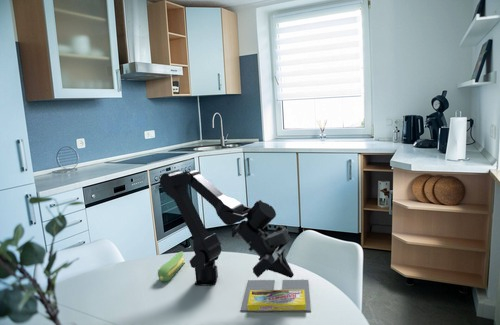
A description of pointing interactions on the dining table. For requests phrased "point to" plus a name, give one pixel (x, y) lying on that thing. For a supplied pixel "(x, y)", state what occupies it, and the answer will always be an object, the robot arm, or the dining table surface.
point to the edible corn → (171, 267)
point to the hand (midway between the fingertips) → (292, 276)
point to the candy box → (276, 300)
